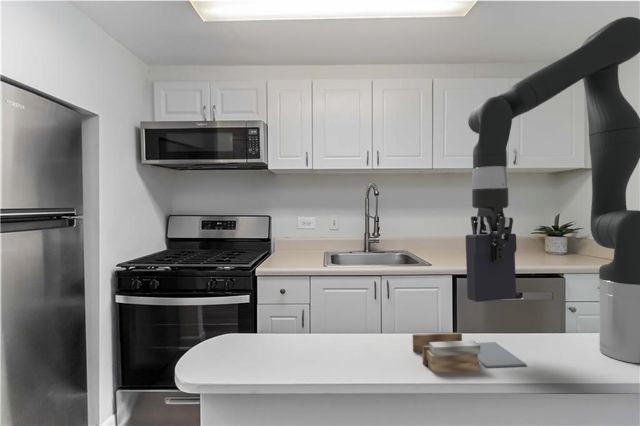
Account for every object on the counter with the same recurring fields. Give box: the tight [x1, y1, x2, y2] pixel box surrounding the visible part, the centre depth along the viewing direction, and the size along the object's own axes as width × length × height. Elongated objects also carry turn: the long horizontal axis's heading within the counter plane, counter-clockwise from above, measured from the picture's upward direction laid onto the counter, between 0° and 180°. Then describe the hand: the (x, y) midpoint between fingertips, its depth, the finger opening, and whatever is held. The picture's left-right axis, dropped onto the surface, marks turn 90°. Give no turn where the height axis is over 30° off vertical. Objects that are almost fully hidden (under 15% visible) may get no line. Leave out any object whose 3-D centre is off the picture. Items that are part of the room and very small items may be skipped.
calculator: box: [465, 233, 517, 303], centre depth 79 cm, size 11×4×15 cm, turn 104°
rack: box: [412, 332, 463, 366], centre depth 79 cm, size 12×8×4 cm, turn 93°
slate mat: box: [477, 341, 527, 368], centre depth 79 cm, size 9×12×1 cm
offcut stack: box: [427, 339, 480, 373], centre depth 73 cm, size 11×3×5 cm, turn 93°
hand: (490, 260), depth 79 cm, fingers closed on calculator, 4 cm apart
